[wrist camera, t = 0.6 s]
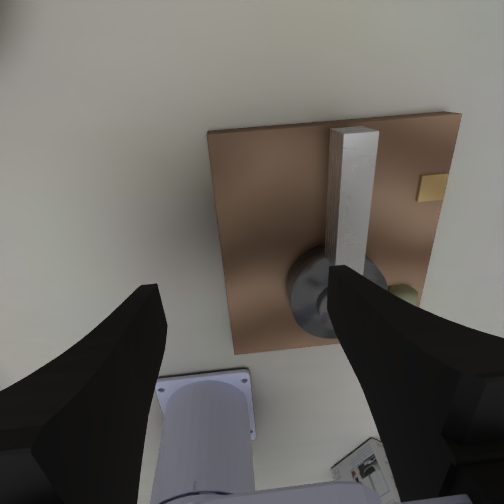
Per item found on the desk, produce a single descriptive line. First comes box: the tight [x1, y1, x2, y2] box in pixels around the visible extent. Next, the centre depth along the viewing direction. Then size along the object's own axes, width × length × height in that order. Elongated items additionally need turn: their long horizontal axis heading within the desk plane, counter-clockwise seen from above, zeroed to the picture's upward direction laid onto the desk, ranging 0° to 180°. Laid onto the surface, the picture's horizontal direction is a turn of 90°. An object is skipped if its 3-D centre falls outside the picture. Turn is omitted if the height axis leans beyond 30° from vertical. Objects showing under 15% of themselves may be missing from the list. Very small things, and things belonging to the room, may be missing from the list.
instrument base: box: [207, 112, 462, 355], centre depth 21 cm, size 16×14×3 cm
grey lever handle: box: [286, 126, 388, 339], centre depth 19 cm, size 13×6×3 cm, turn 4°
